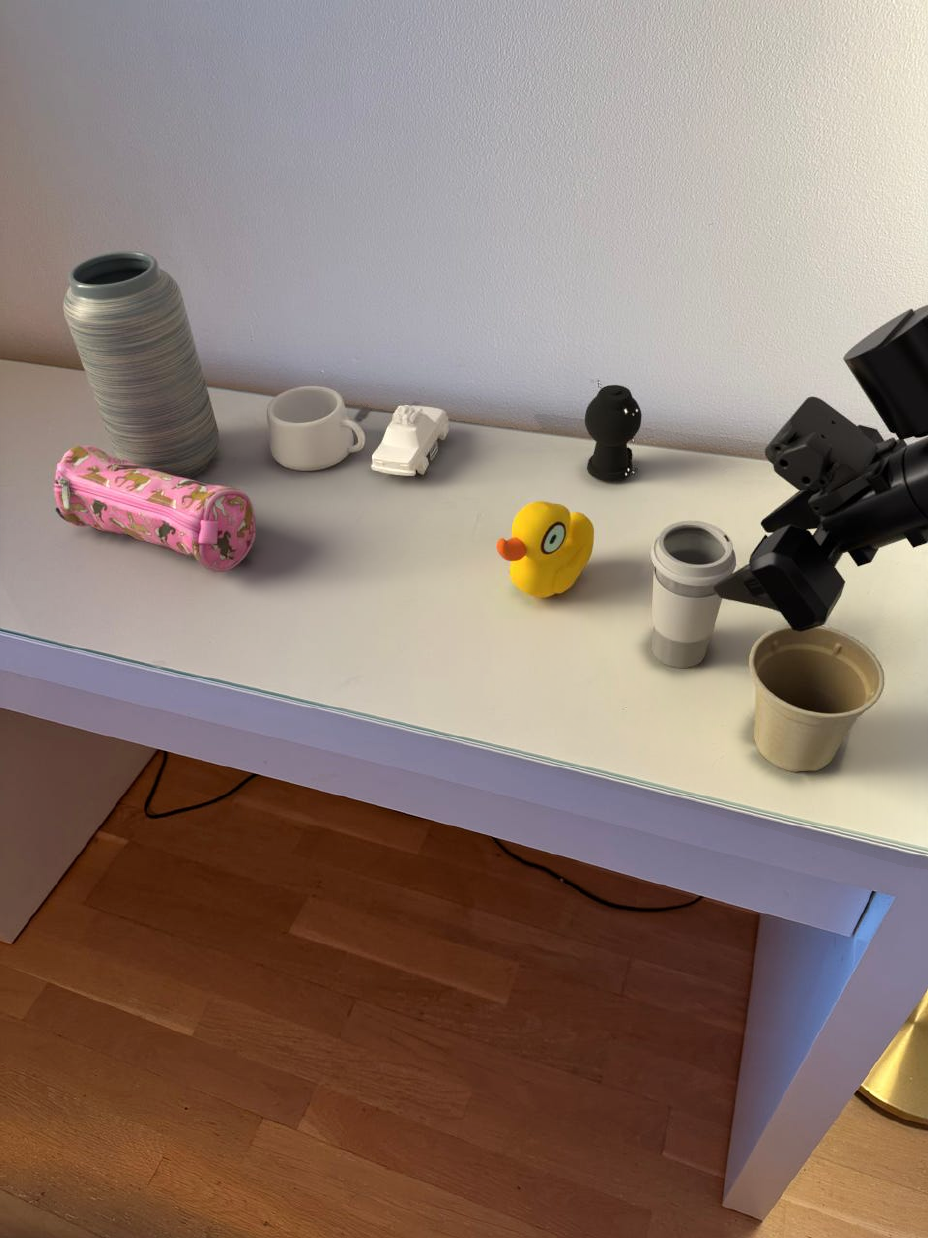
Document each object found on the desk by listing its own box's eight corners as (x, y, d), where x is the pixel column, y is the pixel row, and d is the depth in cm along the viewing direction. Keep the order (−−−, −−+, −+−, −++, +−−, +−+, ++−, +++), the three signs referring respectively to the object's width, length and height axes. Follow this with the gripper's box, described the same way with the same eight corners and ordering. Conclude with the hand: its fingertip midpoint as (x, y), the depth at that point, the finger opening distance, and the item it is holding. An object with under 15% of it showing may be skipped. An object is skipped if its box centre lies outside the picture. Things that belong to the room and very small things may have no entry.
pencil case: (59, 541, 98) (27, 471, 92) (119, 493, 104) (93, 424, 98) (220, 596, 90) (197, 524, 84) (275, 541, 96) (258, 470, 90)
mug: (255, 464, 106) (244, 419, 102) (298, 421, 113) (289, 377, 108) (347, 485, 103) (340, 438, 98) (386, 439, 109) (381, 393, 105)
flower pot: (740, 687, 78) (758, 612, 72) (859, 712, 76) (886, 636, 70) (724, 773, 72) (741, 699, 66) (852, 803, 69) (882, 729, 63)
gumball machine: (651, 476, 101) (660, 394, 94) (609, 496, 99) (615, 414, 92) (611, 449, 105) (616, 369, 98) (570, 468, 103) (572, 387, 96)
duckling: (521, 631, 84) (520, 546, 78) (482, 603, 88) (477, 518, 81) (606, 574, 90) (612, 489, 83) (566, 549, 93) (569, 465, 86)
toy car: (454, 433, 109) (450, 381, 104) (418, 491, 101) (413, 438, 96) (406, 426, 111) (401, 375, 106) (368, 483, 102) (360, 430, 98)
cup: (730, 671, 80) (753, 564, 71) (656, 685, 79) (670, 578, 71) (699, 616, 85) (717, 510, 76) (629, 628, 84) (640, 523, 76)
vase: (102, 481, 106) (26, 285, 90) (163, 428, 113) (103, 239, 97) (186, 500, 102) (122, 299, 86) (243, 445, 110) (195, 251, 94)
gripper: (905, 323, 64) (730, 420, 77) (809, 454, 53) (625, 542, 66) (988, 451, 66) (805, 525, 79) (912, 603, 55) (714, 661, 68)
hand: (741, 558), depth 73 cm, fingers open, 9 cm apart
